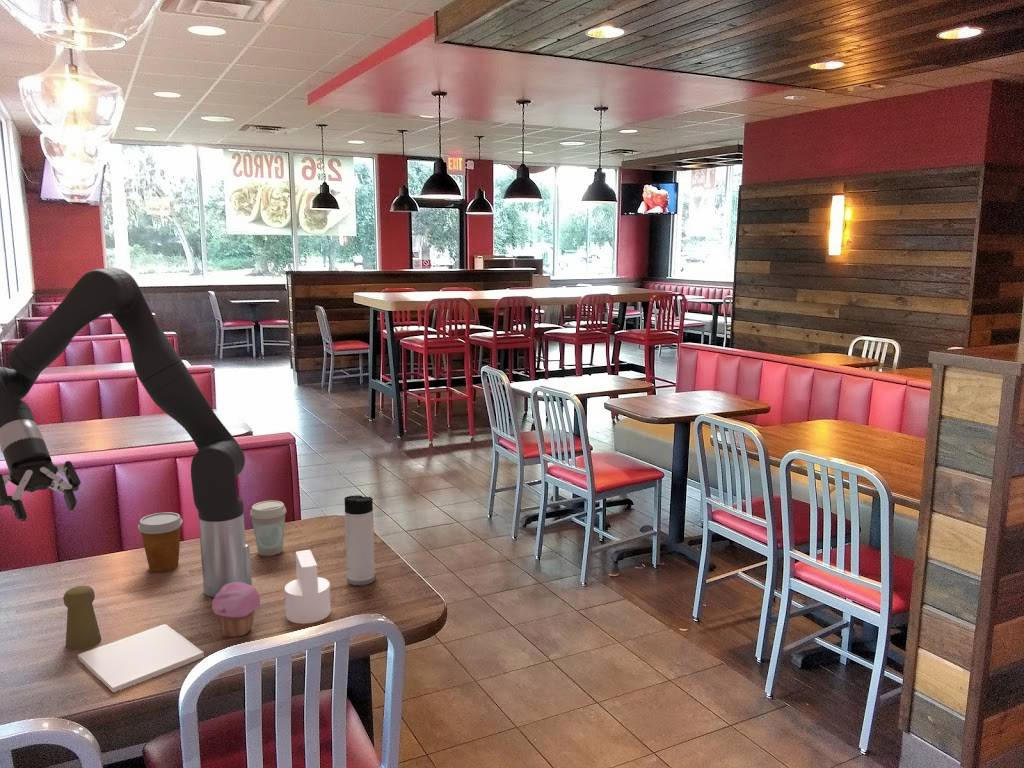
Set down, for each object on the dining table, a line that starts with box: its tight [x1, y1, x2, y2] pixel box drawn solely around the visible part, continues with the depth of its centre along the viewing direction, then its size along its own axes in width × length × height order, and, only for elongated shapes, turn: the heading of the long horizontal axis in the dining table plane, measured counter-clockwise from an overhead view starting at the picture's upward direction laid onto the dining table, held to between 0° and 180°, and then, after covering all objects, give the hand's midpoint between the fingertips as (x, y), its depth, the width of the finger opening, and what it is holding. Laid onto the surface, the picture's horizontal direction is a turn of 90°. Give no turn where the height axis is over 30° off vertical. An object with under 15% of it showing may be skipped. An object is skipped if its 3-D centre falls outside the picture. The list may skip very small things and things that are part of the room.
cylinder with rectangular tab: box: [284, 549, 332, 624], centre depth 160 cm, size 9×9×12 cm
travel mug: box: [343, 495, 376, 586], centre depth 175 cm, size 6×7×20 cm
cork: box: [62, 585, 102, 651], centre depth 148 cm, size 6×6×11 cm
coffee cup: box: [249, 500, 287, 557], centre depth 192 cm, size 9×9×12 cm
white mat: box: [77, 623, 205, 693], centre depth 143 cm, size 16×16×1 cm
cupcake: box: [211, 582, 261, 638], centre depth 152 cm, size 9×9×10 cm
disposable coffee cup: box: [137, 511, 184, 573], centre depth 183 cm, size 10×10×12 cm
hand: (48, 513), depth 153 cm, fingers open, 8 cm apart
